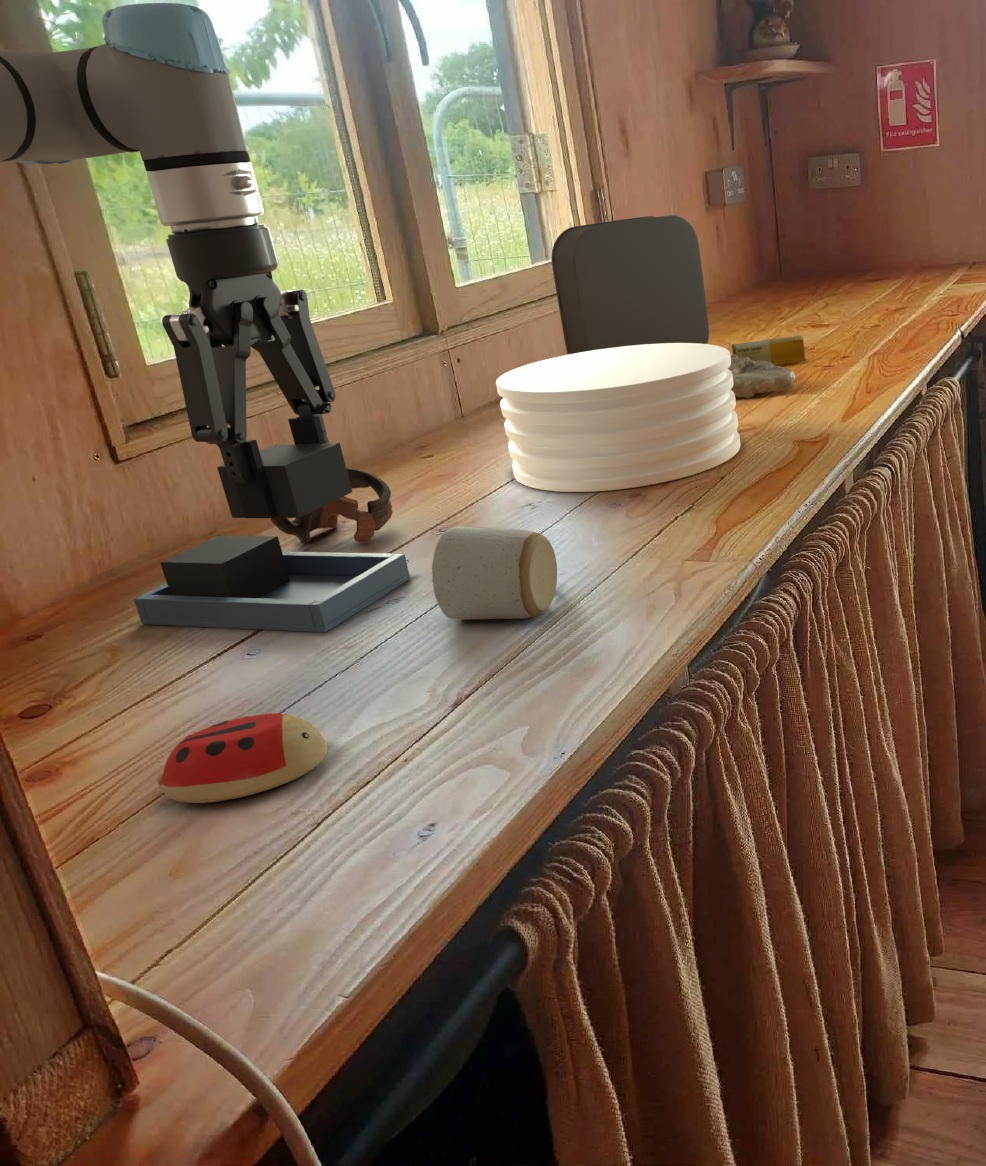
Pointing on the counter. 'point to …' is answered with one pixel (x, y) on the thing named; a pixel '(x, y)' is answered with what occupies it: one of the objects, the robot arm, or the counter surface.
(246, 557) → the seated pad
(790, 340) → the medication box
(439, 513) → the counter surface
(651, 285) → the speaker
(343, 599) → the pad tray
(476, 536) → the ceramic mug
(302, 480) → the loose pad
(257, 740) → the ladybug figurine
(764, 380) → the elongated rock
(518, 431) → the plate stack
